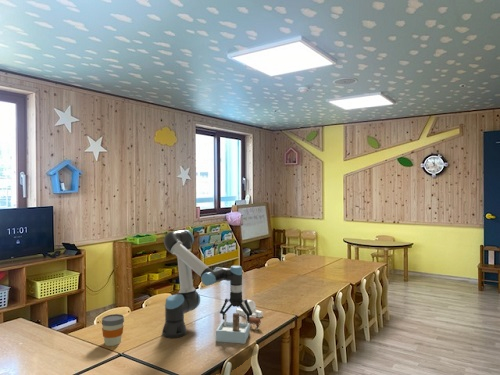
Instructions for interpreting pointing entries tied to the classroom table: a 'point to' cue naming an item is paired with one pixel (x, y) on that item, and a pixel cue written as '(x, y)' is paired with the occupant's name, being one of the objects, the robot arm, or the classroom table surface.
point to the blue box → (232, 333)
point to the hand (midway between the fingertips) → (235, 325)
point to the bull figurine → (254, 321)
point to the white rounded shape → (253, 308)
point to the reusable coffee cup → (112, 329)
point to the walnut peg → (236, 322)
